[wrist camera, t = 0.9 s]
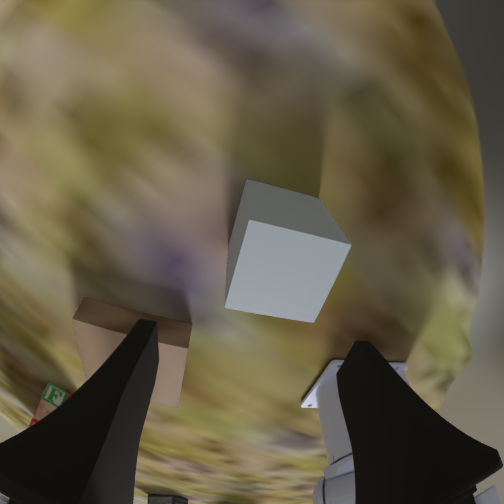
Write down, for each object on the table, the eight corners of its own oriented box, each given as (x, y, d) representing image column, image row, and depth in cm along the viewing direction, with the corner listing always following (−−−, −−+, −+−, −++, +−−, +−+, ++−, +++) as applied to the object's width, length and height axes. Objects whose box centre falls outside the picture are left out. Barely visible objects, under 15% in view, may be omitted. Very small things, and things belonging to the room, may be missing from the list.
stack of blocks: (74, 440, 37) (60, 494, 26) (44, 424, 35) (27, 477, 24) (90, 402, 29) (67, 484, 18) (47, 379, 27) (16, 458, 16)
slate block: (318, 198, 17) (351, 244, 12) (295, 260, 19) (313, 322, 14) (246, 178, 17) (249, 219, 11) (228, 245, 19) (224, 307, 13)
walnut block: (192, 320, 22) (188, 348, 20) (181, 382, 26) (178, 407, 24) (86, 294, 21) (72, 318, 18) (96, 361, 25) (87, 384, 22)
